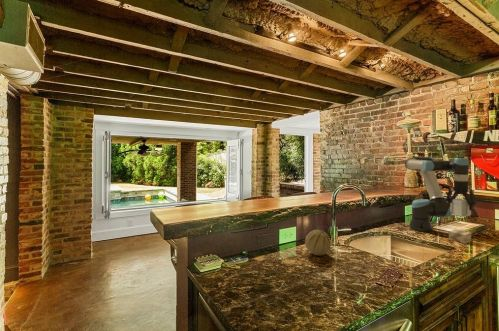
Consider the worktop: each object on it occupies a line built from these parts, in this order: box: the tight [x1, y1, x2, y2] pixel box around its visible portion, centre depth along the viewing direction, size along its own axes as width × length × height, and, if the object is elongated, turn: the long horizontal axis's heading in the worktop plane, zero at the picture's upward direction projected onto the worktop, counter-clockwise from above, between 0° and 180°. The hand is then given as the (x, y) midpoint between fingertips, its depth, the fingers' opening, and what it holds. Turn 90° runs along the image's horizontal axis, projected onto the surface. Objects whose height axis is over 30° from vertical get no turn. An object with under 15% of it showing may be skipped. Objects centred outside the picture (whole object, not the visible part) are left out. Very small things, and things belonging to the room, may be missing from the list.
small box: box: [451, 198, 471, 217], centre depth 170 cm, size 8×6×10 cm
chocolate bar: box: [374, 267, 403, 285], centre depth 119 cm, size 7×19×2 cm, turn 136°
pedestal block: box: [448, 229, 472, 245], centre depth 170 cm, size 9×9×6 cm
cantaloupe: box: [304, 229, 332, 256], centre depth 149 cm, size 15×15×15 cm
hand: (460, 213), depth 170 cm, fingers closed on small box, 9 cm apart
